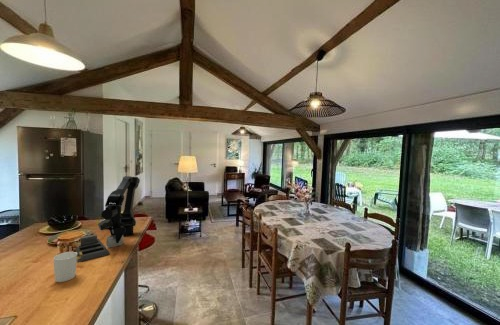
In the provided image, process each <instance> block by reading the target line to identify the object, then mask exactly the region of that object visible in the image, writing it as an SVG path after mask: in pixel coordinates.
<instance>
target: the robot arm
mask: <svg viewBox="0 0 500 325" xmlns="http://www.w3.org/2000/svg"><path fill="white" fill-rule="evenodd" d="M140 180H141V179H140V178H139V177H138V176H130V175H129V176H128V175H126V176H123V177H122V179H121V182H120V183H119V185H118V186H117V188H116V189H115V190H113V191H111V192H110V194H108V196H107V199H106V200H105V201H106V202H105V204H104V207H105V209H104V210H103V211H102V212H101V213H100V214H101V215H100V216H101V218H102V219H104V220H103V221H101V222H99V223H97V226H98V228H99V229H100V231H104V230H105V229H108V230H109V233H110V236H112V235H115V239H116V243H119V241H120V239H121V237H122V235H123V238H124V237H130V236H134V235H135V233H134V226H135V227H136V224H137V221H136V219H135V214H134V213H133V206H134V199H135V193H136V189H138V187H139V184H140ZM125 193H126V196H125ZM124 201H125V202H124ZM123 203H124V208H123V209H124V210H123V211H122V206H123Z"/></svg>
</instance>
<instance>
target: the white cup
mask: <svg viewBox="0 0 500 325" xmlns="http://www.w3.org/2000/svg"><path fill="white" fill-rule="evenodd" d="M77 263H78V262H77V252H73V251H66V252H65V251H64V252H62V253H59V254H57V255H55V256H54V257H53V269H54V270H53V271H54V280H55V282H56V283H64V282H67V281H70V280H72V279H74V278H75V277H76V270H77Z"/></svg>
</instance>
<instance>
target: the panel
mask: <svg viewBox="0 0 500 325" xmlns="http://www.w3.org/2000/svg"><path fill="white" fill-rule="evenodd" d="M121 245H124V237H123V235H122V237H121V239H120V241H119V243H116V239H115V235H112V236H111V235H108V236H106V249H109V248H113V247H118V246H121Z"/></svg>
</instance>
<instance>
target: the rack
mask: <svg viewBox="0 0 500 325" xmlns="http://www.w3.org/2000/svg"><path fill="white" fill-rule="evenodd" d="M81 237H82V238H81V246H79V247H77V248H76V250H77V251H76V252H77V263H81V262H85V261H90V260H94V259H96V258H97V259H98V258H101V257H104V256H109V255H111V253H110V251H109V249H108V248H107V246H105V245H104V244H103V242H102V241H101V240H100V239H99V238H98V235H97V234H91V235H85V236H81Z"/></svg>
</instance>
